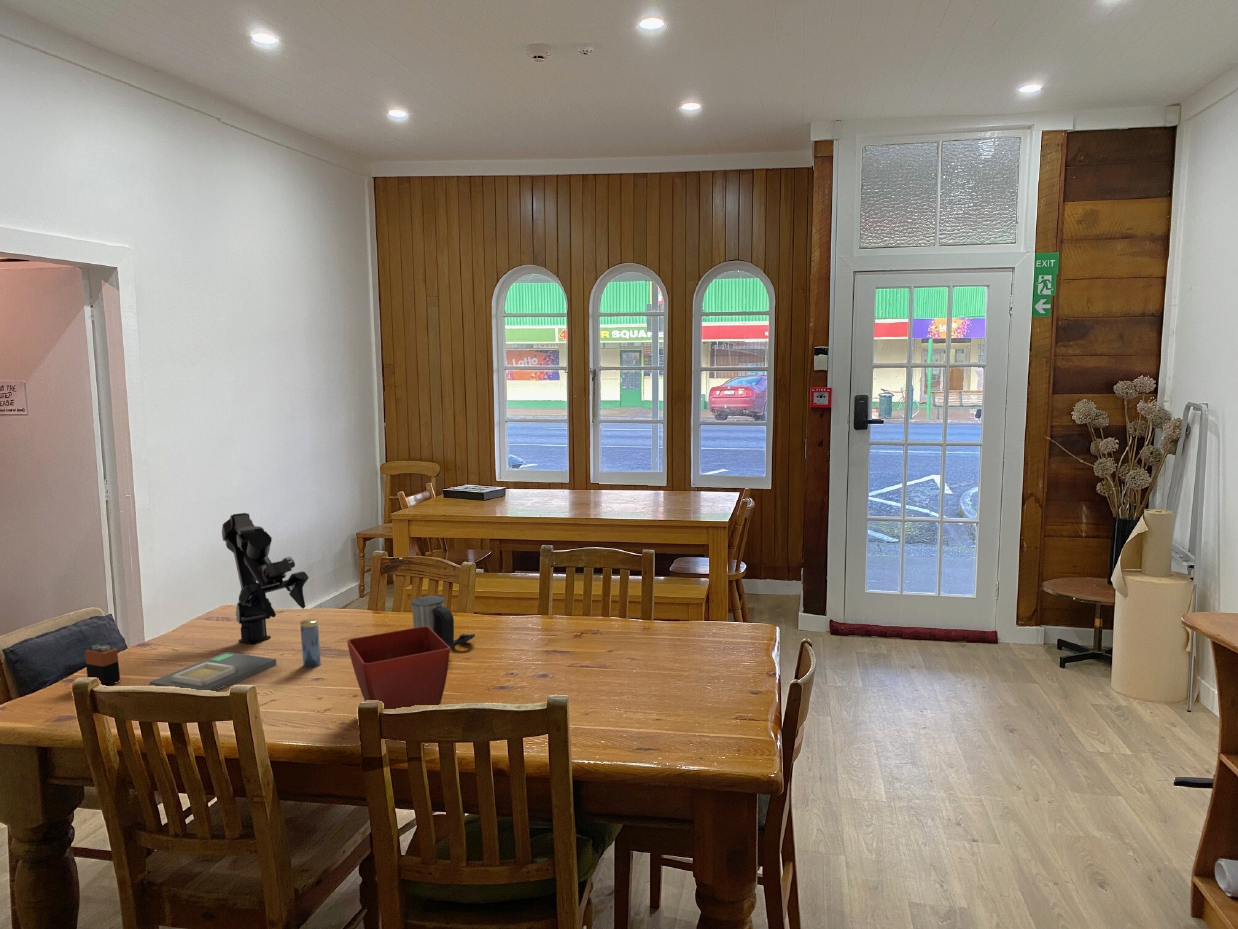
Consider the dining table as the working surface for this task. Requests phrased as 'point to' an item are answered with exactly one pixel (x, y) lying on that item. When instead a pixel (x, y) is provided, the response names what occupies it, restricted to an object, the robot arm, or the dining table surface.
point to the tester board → (216, 672)
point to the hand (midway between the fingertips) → (289, 612)
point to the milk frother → (436, 619)
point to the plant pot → (401, 667)
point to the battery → (103, 664)
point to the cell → (310, 643)
